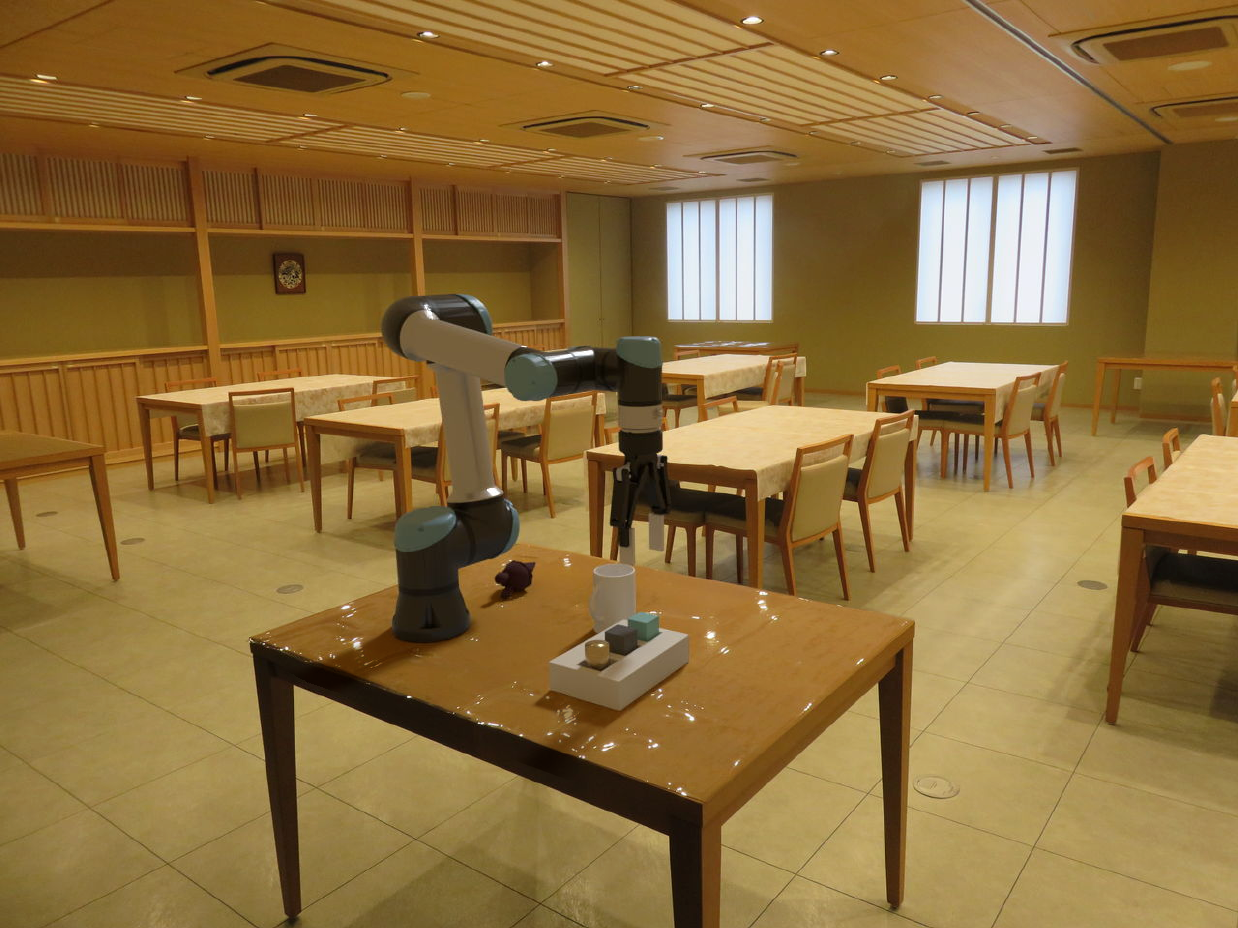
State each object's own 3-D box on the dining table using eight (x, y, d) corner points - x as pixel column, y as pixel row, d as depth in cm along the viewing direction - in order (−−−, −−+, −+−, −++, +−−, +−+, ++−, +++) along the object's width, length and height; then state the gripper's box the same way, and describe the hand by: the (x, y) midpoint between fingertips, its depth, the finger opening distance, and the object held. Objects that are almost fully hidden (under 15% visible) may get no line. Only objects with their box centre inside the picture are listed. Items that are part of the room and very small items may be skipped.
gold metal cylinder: (580, 671, 149) (580, 645, 148) (595, 662, 152) (594, 637, 151) (600, 677, 146) (599, 651, 145) (614, 668, 150) (614, 642, 149)
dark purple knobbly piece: (517, 550, 206) (480, 575, 193) (543, 546, 202) (507, 572, 190) (526, 578, 207) (490, 605, 194) (552, 574, 204) (517, 602, 191)
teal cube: (627, 642, 160) (627, 618, 159) (640, 634, 163) (639, 611, 162) (647, 647, 158) (646, 623, 157) (659, 639, 161) (658, 615, 160)
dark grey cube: (605, 656, 154) (604, 631, 153) (618, 648, 157) (617, 624, 157) (624, 661, 152) (624, 636, 151) (637, 653, 155) (637, 628, 154)
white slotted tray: (550, 689, 150) (549, 661, 149) (623, 644, 168) (623, 619, 167) (619, 710, 143) (618, 681, 142) (689, 661, 160) (689, 634, 159)
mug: (604, 646, 168) (603, 584, 165) (572, 634, 173) (570, 575, 171) (646, 627, 176) (645, 568, 174) (614, 617, 182) (612, 560, 179)
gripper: (623, 441, 142) (626, 577, 146) (691, 421, 159) (691, 544, 164) (584, 437, 146) (588, 570, 151) (655, 418, 163) (656, 538, 168)
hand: (642, 556), depth 157 cm, fingers open, 9 cm apart
